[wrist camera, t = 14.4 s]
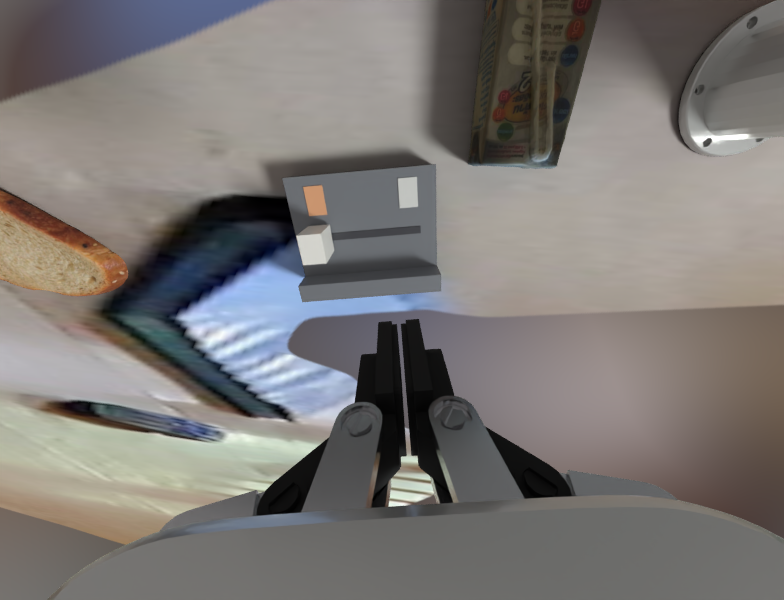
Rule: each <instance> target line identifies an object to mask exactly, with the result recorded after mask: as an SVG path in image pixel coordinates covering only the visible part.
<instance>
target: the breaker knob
mask: <svg viewBox="0 0 784 600" xmlns="http://www.w3.org/2000/svg"><path fill="white" fill-rule="evenodd" d="M296 237H297V241H298V246H299V250H300V254H301V258H302V262H303V265H314V264H326V263H327V262H328V260H329V259H330V257H331V255H332V254H333V252H334V246H333V240H332V235H331V229H330V224H327V225H316V226H308V227H307V228H305V229H304V230H303V231H302V232H300V233H299V234H298V235H297V236H296Z"/></svg>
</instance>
